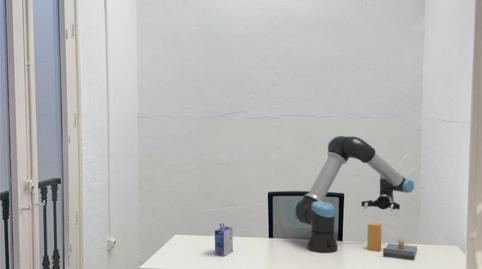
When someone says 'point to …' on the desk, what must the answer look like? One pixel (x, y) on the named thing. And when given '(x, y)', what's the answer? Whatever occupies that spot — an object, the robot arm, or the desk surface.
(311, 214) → the robot arm
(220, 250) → the ink cartridge box
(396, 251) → the plate
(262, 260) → the desk surface
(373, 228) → the orange tan rectangular block
